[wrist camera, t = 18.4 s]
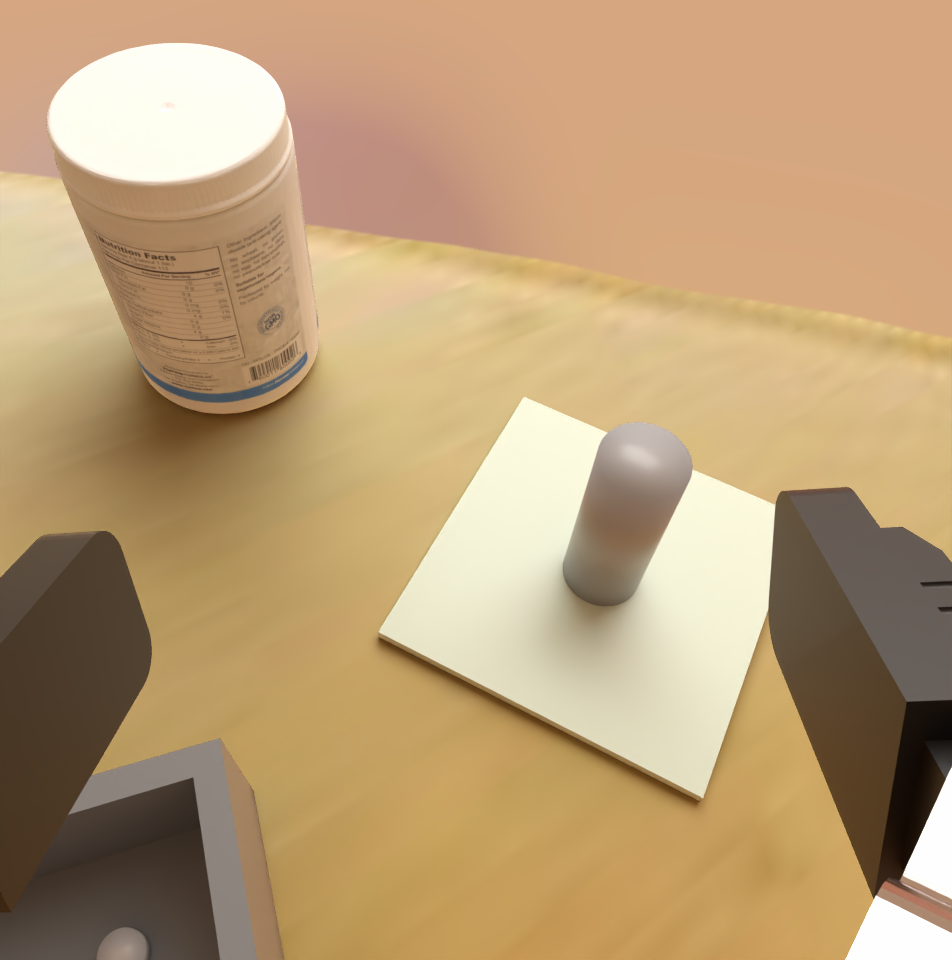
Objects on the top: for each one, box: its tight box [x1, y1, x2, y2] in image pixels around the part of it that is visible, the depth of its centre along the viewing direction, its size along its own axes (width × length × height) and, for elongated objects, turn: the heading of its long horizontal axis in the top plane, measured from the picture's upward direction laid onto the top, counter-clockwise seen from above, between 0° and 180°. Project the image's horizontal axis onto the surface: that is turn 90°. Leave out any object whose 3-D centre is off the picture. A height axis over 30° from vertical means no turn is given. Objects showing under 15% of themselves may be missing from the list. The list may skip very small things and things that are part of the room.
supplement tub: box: [47, 43, 319, 414], centre depth 40 cm, size 10×10×15 cm
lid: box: [378, 397, 776, 801], centre depth 37 cm, size 15×15×10 cm
